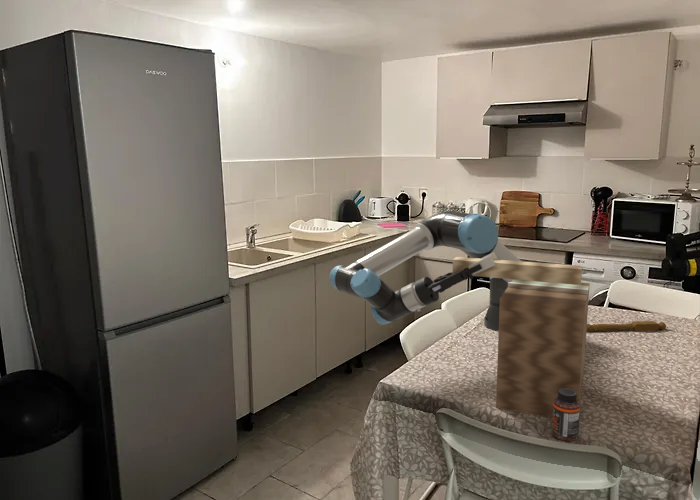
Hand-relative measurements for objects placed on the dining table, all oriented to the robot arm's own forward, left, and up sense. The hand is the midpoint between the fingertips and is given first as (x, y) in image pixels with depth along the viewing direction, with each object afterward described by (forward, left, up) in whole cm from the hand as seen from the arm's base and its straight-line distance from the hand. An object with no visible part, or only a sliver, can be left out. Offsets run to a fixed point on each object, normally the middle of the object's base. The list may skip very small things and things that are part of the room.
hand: (494, 258), depth 146 cm
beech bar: (+5, +2, -5) cm, 7 cm away
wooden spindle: (+7, +80, -39) cm, 90 cm away
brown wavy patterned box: (+10, +10, -39) cm, 41 cm away
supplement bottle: (+24, -6, -39) cm, 46 cm away
